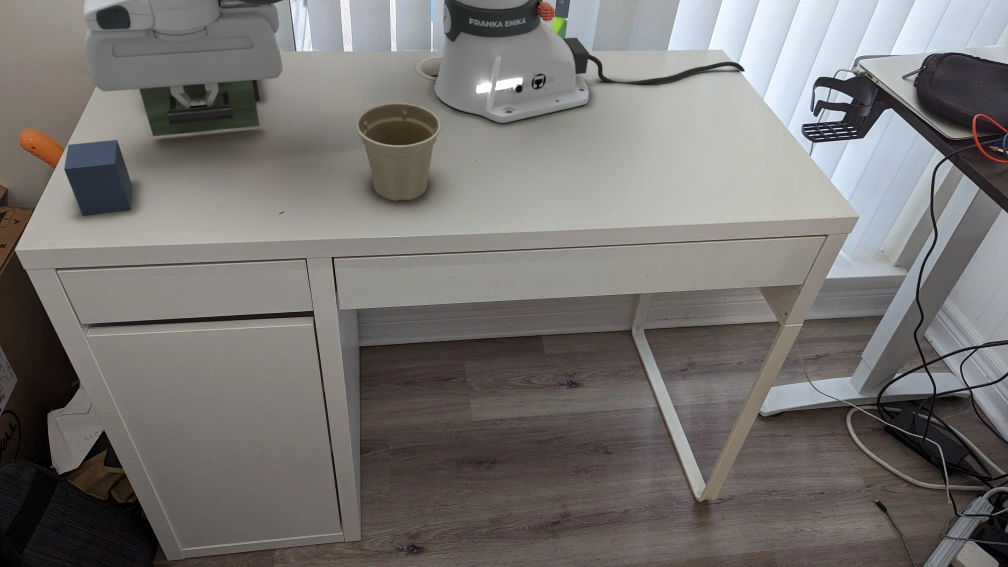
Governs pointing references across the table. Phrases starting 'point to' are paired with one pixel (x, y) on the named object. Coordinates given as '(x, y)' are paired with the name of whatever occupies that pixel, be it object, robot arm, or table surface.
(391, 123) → the flower pot
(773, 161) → the table surface
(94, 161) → the block
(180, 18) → the robot arm
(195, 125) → the drawer
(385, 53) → the table surface
